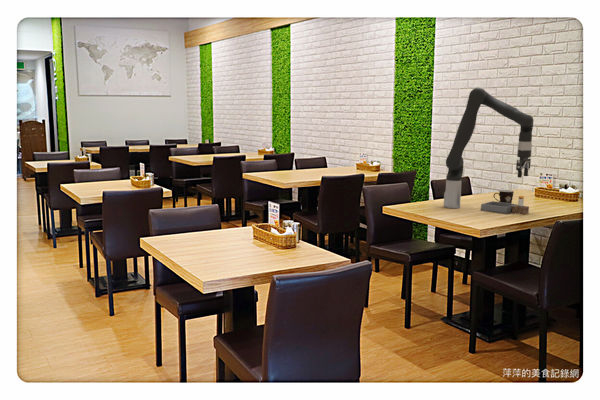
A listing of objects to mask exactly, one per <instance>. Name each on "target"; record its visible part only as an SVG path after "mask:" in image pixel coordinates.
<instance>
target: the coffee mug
mask: <svg viewBox="0 0 600 400" xmlns="http://www.w3.org/2000/svg"><path fill="white" fill-rule="evenodd" d="M496 195H498V196H499V199H497V198H496ZM513 196H514V190H511V189H500V190H499V191H498V192H495V193H494V194H493V198H494V200H496V202H503V203H511V204H513V198H514V197H513Z"/></svg>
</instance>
